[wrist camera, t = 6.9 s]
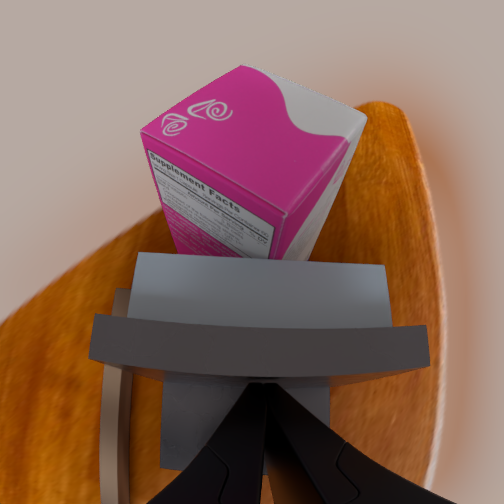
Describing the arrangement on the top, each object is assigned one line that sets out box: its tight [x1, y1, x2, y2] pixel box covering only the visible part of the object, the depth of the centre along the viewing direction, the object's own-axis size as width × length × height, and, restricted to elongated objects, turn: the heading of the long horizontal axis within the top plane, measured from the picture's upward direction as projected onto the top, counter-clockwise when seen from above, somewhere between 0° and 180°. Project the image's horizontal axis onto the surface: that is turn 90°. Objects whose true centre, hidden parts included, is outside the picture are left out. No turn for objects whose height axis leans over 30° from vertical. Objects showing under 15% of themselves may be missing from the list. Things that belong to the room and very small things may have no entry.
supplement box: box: [140, 64, 367, 261], centre depth 14 cm, size 6×6×12 cm
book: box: [127, 252, 393, 329], centre depth 13 cm, size 2×8×9 cm, turn 89°
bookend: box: [89, 314, 430, 475], centre depth 10 cm, size 6×9×10 cm
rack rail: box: [100, 288, 133, 504], centre depth 13 cm, size 15×1×2 cm, turn 178°
